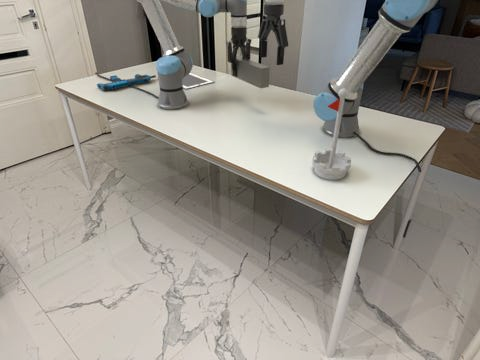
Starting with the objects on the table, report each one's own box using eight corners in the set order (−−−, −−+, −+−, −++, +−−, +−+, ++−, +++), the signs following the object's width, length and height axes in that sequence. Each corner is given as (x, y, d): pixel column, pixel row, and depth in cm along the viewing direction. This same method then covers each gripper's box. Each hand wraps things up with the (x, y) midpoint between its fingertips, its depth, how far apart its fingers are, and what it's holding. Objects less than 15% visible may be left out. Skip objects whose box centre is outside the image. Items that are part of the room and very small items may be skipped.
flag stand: (334, 159, 128) (348, 80, 112) (356, 176, 118) (375, 92, 101) (304, 166, 124) (314, 84, 108) (324, 184, 114) (338, 97, 97)
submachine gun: (141, 68, 224) (160, 74, 207) (142, 74, 226) (160, 81, 209) (89, 78, 206) (105, 86, 189) (91, 85, 207) (106, 93, 191)
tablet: (158, 77, 218) (158, 76, 218) (185, 71, 229) (185, 70, 229) (186, 89, 198) (186, 88, 197) (213, 82, 209) (213, 81, 208)
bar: (268, 86, 161) (269, 66, 156) (260, 88, 158) (261, 68, 153) (238, 74, 179) (238, 55, 174) (231, 75, 177) (230, 57, 172)
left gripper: (249, 23, 169) (249, 71, 181) (218, 27, 161) (220, 76, 173) (258, 25, 163) (257, 74, 176) (227, 29, 155) (228, 80, 168)
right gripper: (250, 0, 137) (249, 55, 149) (282, 7, 118) (279, 69, 130) (266, 0, 140) (264, 53, 151) (300, 6, 121) (295, 66, 132)
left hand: (239, 75), depth 175 cm, fingers closed on bar, 5 cm apart
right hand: (271, 60), depth 141 cm, fingers open, 13 cm apart
